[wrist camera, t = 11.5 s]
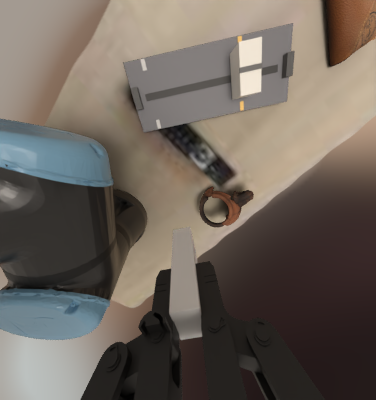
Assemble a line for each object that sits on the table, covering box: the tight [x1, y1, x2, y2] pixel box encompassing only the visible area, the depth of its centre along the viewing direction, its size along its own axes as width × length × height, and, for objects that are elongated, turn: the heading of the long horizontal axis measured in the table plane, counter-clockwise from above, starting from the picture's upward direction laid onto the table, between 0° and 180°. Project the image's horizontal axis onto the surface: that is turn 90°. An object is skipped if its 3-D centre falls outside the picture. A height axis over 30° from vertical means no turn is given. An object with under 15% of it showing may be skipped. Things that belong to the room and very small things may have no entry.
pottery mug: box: [199, 187, 254, 227], centre depth 35 cm, size 12×10×8 cm
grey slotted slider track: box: [123, 23, 294, 132], centre depth 26 cm, size 26×10×3 cm, turn 101°
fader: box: [230, 37, 262, 100], centre depth 23 cm, size 3×6×4 cm, turn 11°
